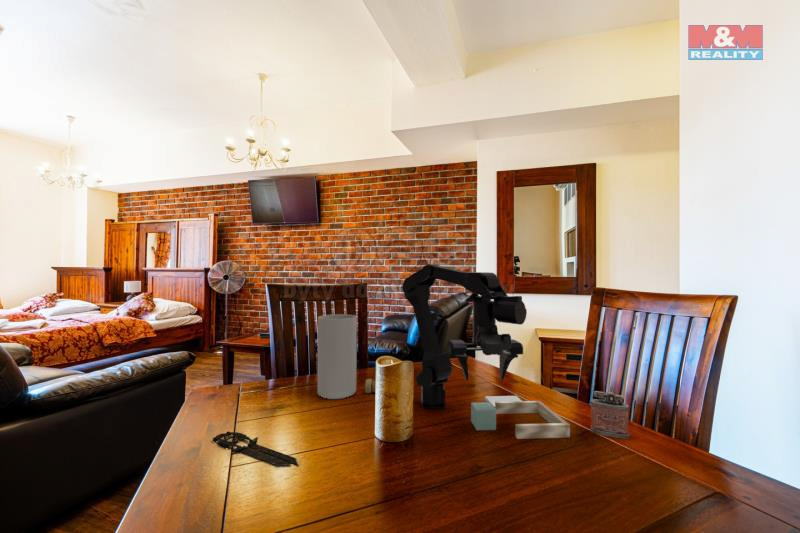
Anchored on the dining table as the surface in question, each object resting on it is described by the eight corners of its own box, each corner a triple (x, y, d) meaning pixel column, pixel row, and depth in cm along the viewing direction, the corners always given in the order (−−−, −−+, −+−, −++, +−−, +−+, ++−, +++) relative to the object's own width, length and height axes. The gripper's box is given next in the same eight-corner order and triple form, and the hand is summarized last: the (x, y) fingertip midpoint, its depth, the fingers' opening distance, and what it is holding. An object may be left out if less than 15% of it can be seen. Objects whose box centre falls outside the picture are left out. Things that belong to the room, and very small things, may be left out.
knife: (304, 465, 68) (304, 458, 68) (277, 481, 63) (277, 474, 63) (235, 432, 82) (235, 426, 82) (208, 443, 76) (208, 437, 77)
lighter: (627, 433, 81) (627, 392, 81) (630, 440, 78) (630, 397, 78) (590, 427, 84) (589, 388, 85) (591, 433, 81) (591, 392, 82)
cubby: (517, 438, 78) (517, 426, 78) (495, 412, 93) (495, 401, 93) (570, 437, 79) (569, 424, 79) (539, 411, 94) (539, 400, 94)
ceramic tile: (494, 410, 94) (494, 406, 94) (485, 400, 102) (485, 396, 102) (528, 410, 95) (528, 406, 95) (516, 399, 103) (516, 395, 103)
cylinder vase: (337, 384, 117) (338, 313, 117) (364, 391, 110) (364, 316, 110) (309, 394, 107) (310, 317, 107) (336, 403, 99) (336, 320, 100)
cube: (476, 430, 83) (476, 410, 83) (471, 421, 88) (471, 402, 88) (496, 430, 83) (496, 410, 83) (489, 421, 88) (489, 402, 88)
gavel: (373, 367, 128) (399, 367, 127) (373, 379, 128) (399, 379, 127) (365, 380, 107) (395, 381, 107) (364, 395, 107) (395, 396, 106)
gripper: (456, 325, 78) (456, 391, 77) (533, 324, 79) (533, 390, 78) (446, 318, 89) (446, 376, 88) (514, 318, 90) (514, 376, 89)
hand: (484, 380), depth 86 cm, fingers open, 9 cm apart
